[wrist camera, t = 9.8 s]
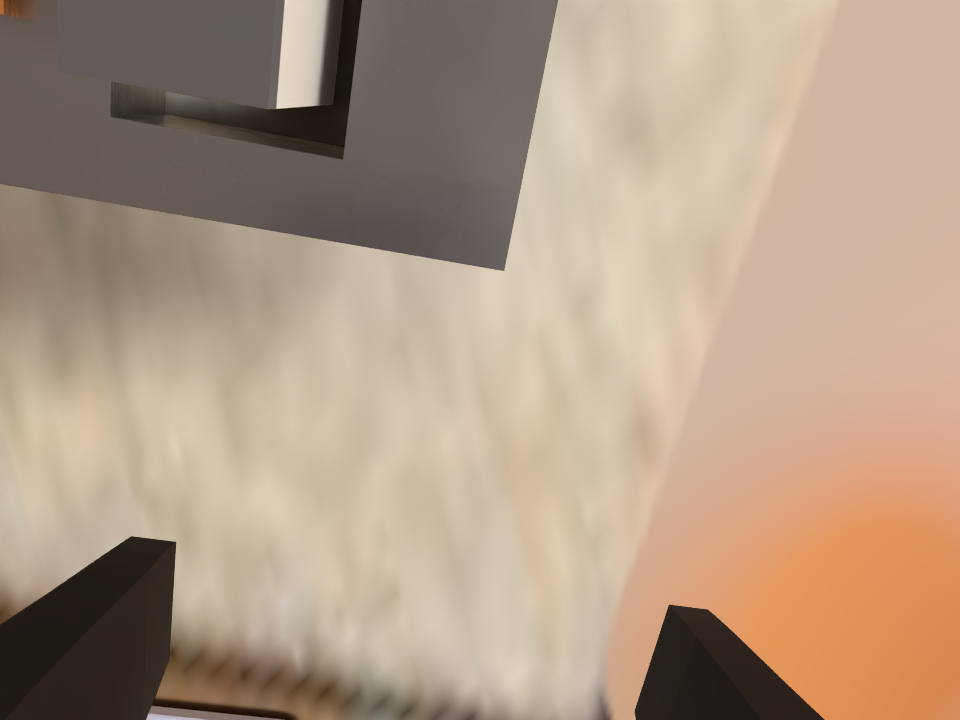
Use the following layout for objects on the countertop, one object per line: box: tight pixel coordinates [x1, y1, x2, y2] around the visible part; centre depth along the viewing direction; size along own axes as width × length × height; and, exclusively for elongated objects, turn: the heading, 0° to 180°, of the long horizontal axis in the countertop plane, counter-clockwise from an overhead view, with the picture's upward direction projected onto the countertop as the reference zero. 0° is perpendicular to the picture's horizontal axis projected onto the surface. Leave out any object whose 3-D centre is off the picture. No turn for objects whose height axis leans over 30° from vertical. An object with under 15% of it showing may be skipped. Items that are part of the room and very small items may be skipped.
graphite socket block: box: [0, 0, 558, 271], centre depth 15 cm, size 8×12×4 cm, turn 79°
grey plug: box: [57, 0, 344, 109], centre depth 14 cm, size 3×3×7 cm
